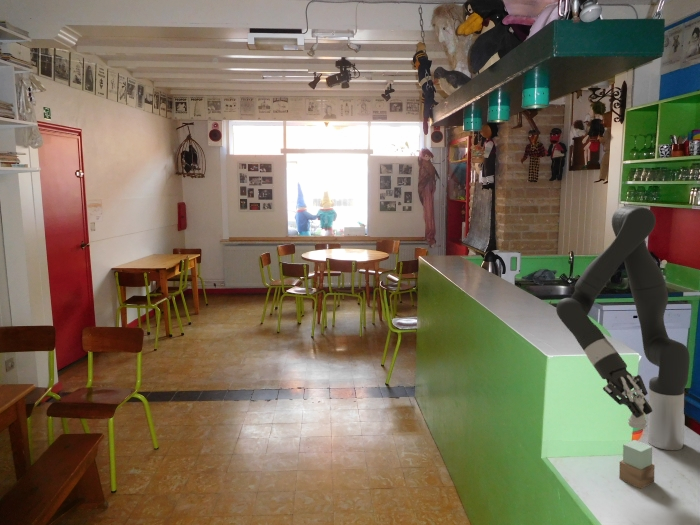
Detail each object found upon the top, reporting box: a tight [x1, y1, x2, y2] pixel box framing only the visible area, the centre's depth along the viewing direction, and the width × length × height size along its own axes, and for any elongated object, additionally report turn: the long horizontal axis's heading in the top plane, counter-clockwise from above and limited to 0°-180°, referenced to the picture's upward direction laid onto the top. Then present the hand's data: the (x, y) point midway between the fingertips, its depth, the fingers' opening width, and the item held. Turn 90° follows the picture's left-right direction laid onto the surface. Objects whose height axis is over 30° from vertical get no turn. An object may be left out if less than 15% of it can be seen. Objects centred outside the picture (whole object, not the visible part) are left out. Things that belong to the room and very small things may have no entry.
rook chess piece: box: [627, 395, 648, 430], centre depth 140 cm, size 4×4×8 cm
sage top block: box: [622, 439, 653, 469], centre depth 141 cm, size 5×5×5 cm
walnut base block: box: [618, 459, 656, 489], centre depth 142 cm, size 6×6×5 cm
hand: (644, 414), depth 138 cm, fingers closed on rook chess piece, 3 cm apart
